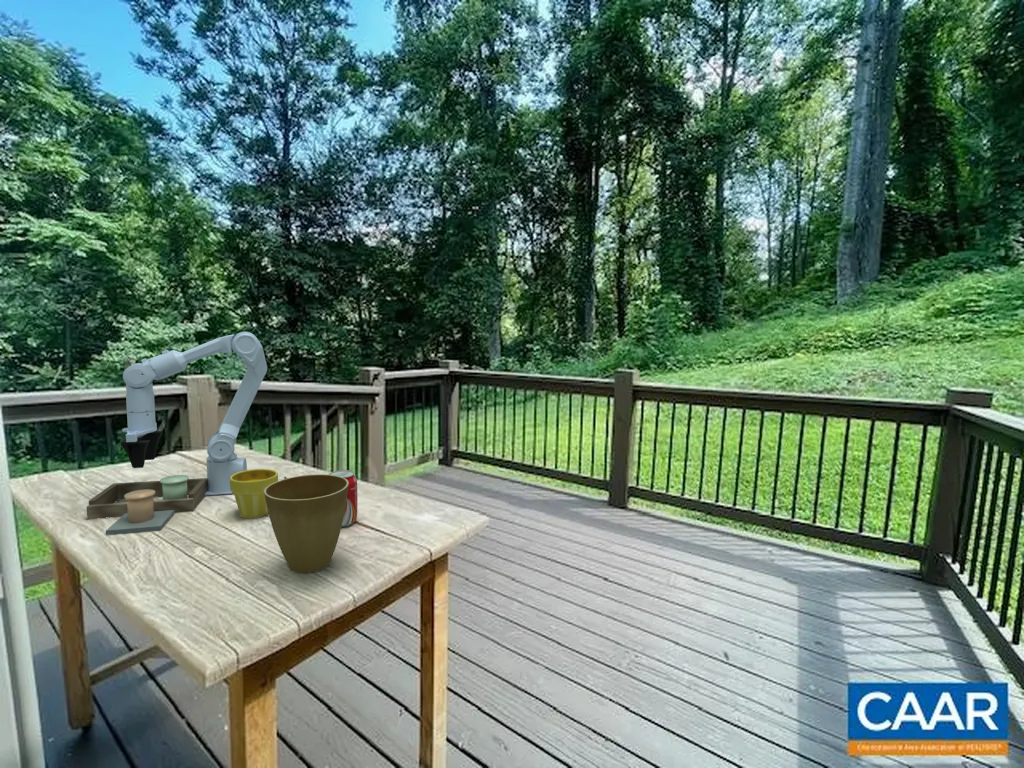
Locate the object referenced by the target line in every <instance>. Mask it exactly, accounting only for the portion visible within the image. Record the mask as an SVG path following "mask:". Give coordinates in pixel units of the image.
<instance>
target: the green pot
mask: <svg viewBox="0 0 1024 768" xmlns="http://www.w3.org/2000/svg"><path fill="white" fill-rule="evenodd" d="M189 479H190V476H189V475H186V474H175V475H170V476H164V477H162V478H160V479H159V481H160V483H161V484H162V489H163V497H162V500H171V499H186V498H188V491H187V481H188V480H189Z"/></svg>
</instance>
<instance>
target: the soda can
mask: <svg viewBox="0 0 1024 768" xmlns="http://www.w3.org/2000/svg"><path fill="white" fill-rule="evenodd" d="M327 474H328V475H336V476H340V477H343V478H345V479H347V480H348V482H349V484H348V494H347V501H346V507H345V513H344V518H343V522H342V527H341V528H345V527H349V526H351V525H352V524H353V523H356V521H357V518H358V479H357V477H356V476H355V472H354V471H353V470H348V469H340V470H339V469H338V470H334V471H331V472H329V473H327Z"/></svg>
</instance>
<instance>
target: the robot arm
mask: <svg viewBox="0 0 1024 768" xmlns="http://www.w3.org/2000/svg"><path fill="white" fill-rule="evenodd" d="M233 351H234V352H235V353H236V354H237V355H238V356H239V357H240V358H241V360H243V363H244V366H245V367H246V372H245V374H244V375H243V378H242V379H241V383H240V385H239V386H238V389H237V391H236V392H235V395H234V397H233V398H232V401H231V404H230V405H229V408H228V410H227V412H226V414H225V416H224V418H223V420H222V422H221V424H220V425H219V427H218V429H217V431H215V432H214V433H213V434H212V435H211V436H210V437H209V440H208V445H207V447H206V451H207V452H206V453H207V455H208V456H207V457H206V478H207V482H208V491H207V492H206V493H205V495H206V496H216V495H217V496H218V495H232V494H233V495H234V493H232V492H231V490H230V477H231V476H232V475H233V474H235V473H238V472H241V471H245V470H248V467H247V466H248V463H247V458H246V457H238V456H237V453H235V450H236V449H235V443H236V439H237V437H238V435H239V433H240V429H241V427H242V424H243V422H244V421H245V418H246V416H247V415H248V412H249V410H250V407H251V405H252V404H253V401H254V399H255V398H256V395H257V393H258V390H259V389H260V387H261V384H262V383H263V380H264V378H265V376H266V374H267V372H268V365H267V361H266V360H267V359H266V357H265V352H264V348H263V345H262V344H261V342H260V340H259V338H257V336H256V335H255V334H253V333H251V332H250V331H240V332H238V333H236V334H235V333H233V334H230V335H229V334H228V335H225V336H220V337H217V338H215V339H212V340H210V341H207V342H205V343H204V342H203V343H202V344H200V345H197V346H195V347H192V348H190V349H188V350H185V351H183V352H182V351H178V350H175V349H173V350H169V349H165V350H163V351H161V354H159V355H156V356H154V357H150V358H148V359H147V358H146V357H145V358H143V359H141V360H140V361H141V362H138V363H137V362H136V363H134V364H132V365H130V366H128V367H127V368H126V369H124V371H123V373H122V380H123V381H124V383H125V390H126V391H125V392H126V393H125V398H126V400H125V402H126V417H127V419H126V420H127V421H126V422H127V427H124V428H122V429H121V431H122V433H126V434H125V439H123V440H120V446H121V447H122V448H123V450H124V451H125V452H126V455H127V456H128V459H129V461H130V462H129V463H130V465H131V467H132V469H142V468H144V466H145V461H154V460H155V459H156V454H157V449H158V445H159V441H160V440H161V437H162V436H163V430H158V427H157V426H158V425H157V424H158V423H157V422H156V406H155V405H156V404H155V393H154V387H153V386H154V384H153V381H154V380H155V381H160V380H163V379H165V378H169V377H171V376H174V375H176V374H178V373H181V372H184V371H185V370H186V368H187V367H188V366H187V365H188V364H190V363H192V362H194V361H198V360H201V359H204V358H206V357H209V356H212V355H216V354H219V353H226V354H232V353H233Z"/></svg>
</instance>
